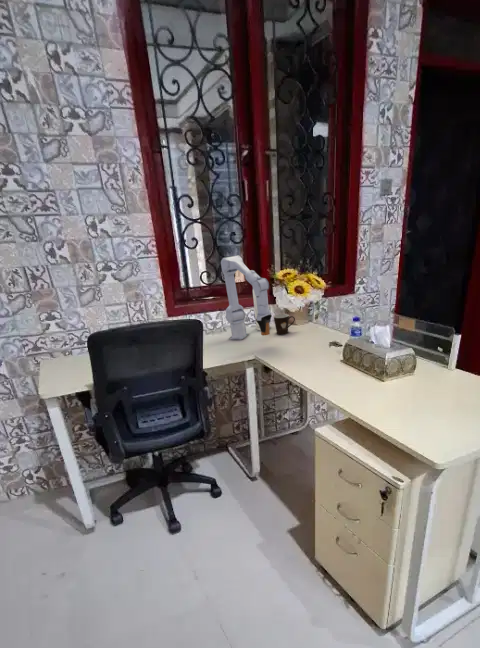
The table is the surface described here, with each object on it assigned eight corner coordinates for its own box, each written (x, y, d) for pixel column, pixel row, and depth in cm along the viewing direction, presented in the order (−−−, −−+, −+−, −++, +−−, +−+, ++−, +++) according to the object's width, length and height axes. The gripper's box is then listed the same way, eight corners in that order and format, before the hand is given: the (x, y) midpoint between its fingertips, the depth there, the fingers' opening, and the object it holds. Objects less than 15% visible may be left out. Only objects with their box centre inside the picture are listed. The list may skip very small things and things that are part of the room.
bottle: (270, 326, 253) (266, 278, 239) (268, 330, 246) (264, 281, 232) (257, 326, 254) (252, 279, 241) (255, 330, 247) (250, 282, 234)
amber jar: (262, 332, 219) (261, 318, 215) (271, 332, 217) (269, 318, 213) (259, 335, 215) (258, 320, 211) (268, 335, 213) (266, 321, 210)
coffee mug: (274, 335, 235) (272, 318, 231) (276, 331, 243) (274, 314, 238) (294, 334, 234) (293, 317, 229) (295, 330, 241) (294, 313, 236)
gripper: (265, 307, 201) (267, 335, 208) (274, 300, 213) (276, 326, 220) (251, 307, 203) (254, 334, 210) (261, 300, 215) (264, 326, 222)
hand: (265, 330), depth 215 cm, fingers closed on amber jar, 4 cm apart
